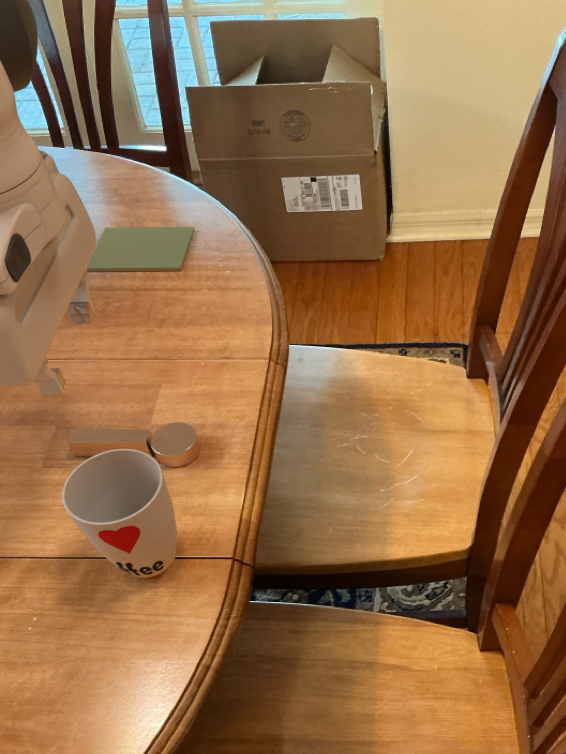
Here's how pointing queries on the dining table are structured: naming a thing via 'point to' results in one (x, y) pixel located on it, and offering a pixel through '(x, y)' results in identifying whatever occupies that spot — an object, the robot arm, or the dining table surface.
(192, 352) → the dining table surface
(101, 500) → the cup
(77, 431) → the spoon
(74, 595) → the dining table surface
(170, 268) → the placemat
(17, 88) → the robot arm
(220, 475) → the dining table surface
